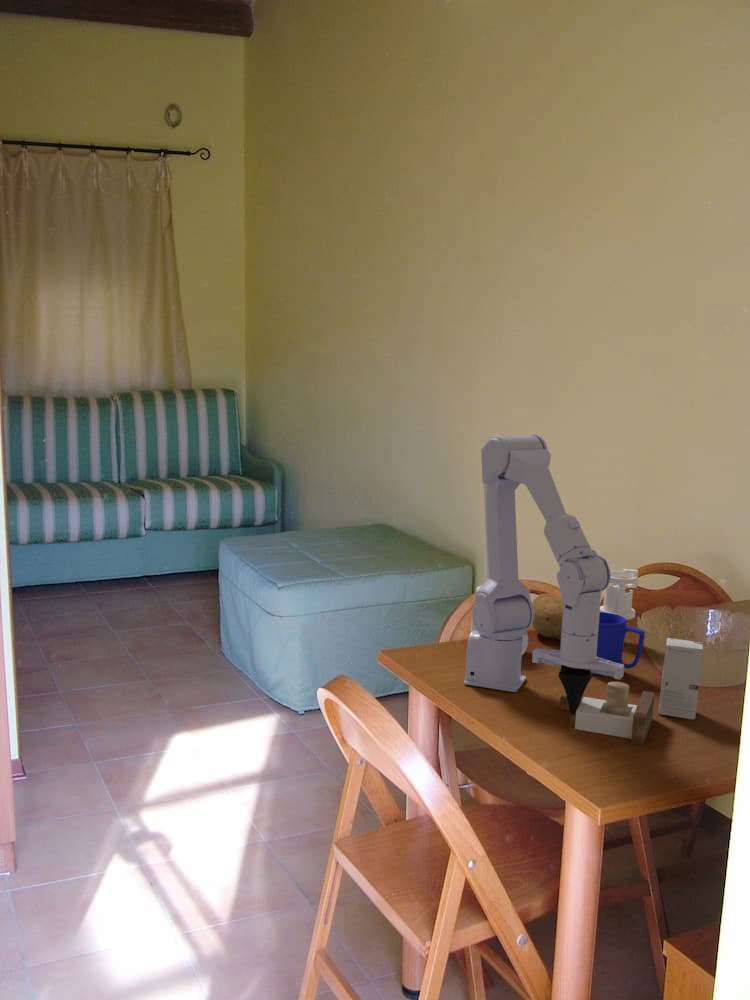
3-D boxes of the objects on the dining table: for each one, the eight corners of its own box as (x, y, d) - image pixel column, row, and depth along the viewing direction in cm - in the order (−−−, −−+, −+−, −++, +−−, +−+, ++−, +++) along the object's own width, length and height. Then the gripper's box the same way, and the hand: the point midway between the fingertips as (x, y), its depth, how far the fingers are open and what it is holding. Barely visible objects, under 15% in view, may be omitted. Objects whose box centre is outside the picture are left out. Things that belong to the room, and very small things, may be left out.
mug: (631, 685, 186) (635, 631, 185) (569, 670, 194) (573, 618, 192) (649, 674, 193) (653, 621, 191) (589, 659, 200) (593, 609, 198)
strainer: (635, 647, 209) (641, 574, 206) (600, 645, 209) (605, 572, 206) (629, 636, 216) (634, 565, 213) (594, 635, 216) (599, 564, 213)
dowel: (602, 726, 166) (605, 686, 165) (606, 718, 169) (609, 680, 168) (624, 729, 164) (627, 690, 163) (627, 722, 168) (630, 683, 166)
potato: (540, 648, 206) (543, 609, 205) (520, 627, 220) (522, 590, 218) (588, 647, 208) (591, 608, 206) (564, 626, 221) (567, 590, 220)
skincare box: (658, 715, 173) (664, 644, 170) (659, 706, 177) (665, 637, 175) (697, 720, 171) (703, 649, 169) (697, 711, 175) (703, 641, 173)
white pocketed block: (574, 729, 165) (576, 711, 165) (582, 714, 172) (584, 696, 171) (632, 739, 162) (634, 720, 162) (638, 723, 169) (640, 705, 168)
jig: (547, 729, 165) (548, 702, 164) (562, 704, 176) (563, 678, 175) (643, 745, 160) (645, 717, 159) (652, 718, 171) (654, 692, 170)
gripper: (631, 633, 166) (625, 714, 169) (545, 617, 173) (539, 695, 175) (619, 644, 160) (612, 728, 163) (529, 627, 167) (524, 708, 169)
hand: (573, 712), depth 169 cm, fingers closed
